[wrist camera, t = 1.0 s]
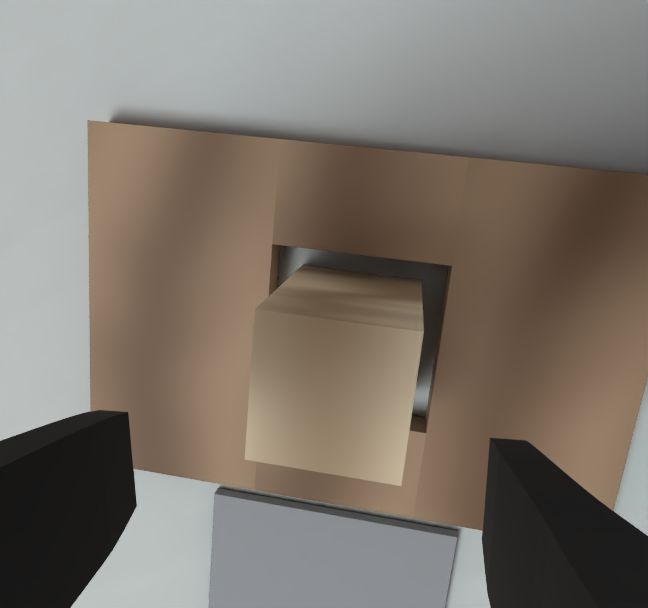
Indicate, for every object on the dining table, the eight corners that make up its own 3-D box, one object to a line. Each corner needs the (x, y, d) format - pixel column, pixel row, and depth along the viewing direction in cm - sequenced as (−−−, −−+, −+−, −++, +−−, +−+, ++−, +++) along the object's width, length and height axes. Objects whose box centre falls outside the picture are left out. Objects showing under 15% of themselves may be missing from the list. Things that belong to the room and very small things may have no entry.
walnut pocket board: (679, 178, 17) (698, 179, 16) (591, 529, 20) (602, 551, 19) (107, 122, 19) (87, 120, 18) (108, 445, 22) (91, 461, 21)
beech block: (421, 279, 19) (424, 331, 13) (405, 392, 20) (401, 486, 14) (302, 265, 19) (254, 309, 14) (293, 375, 20) (244, 459, 15)
